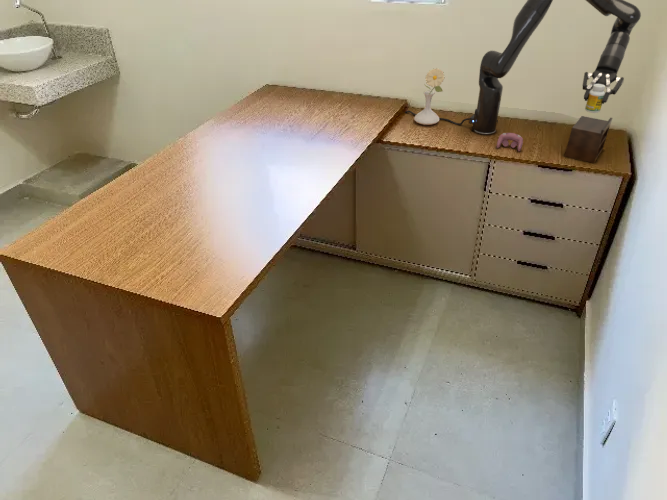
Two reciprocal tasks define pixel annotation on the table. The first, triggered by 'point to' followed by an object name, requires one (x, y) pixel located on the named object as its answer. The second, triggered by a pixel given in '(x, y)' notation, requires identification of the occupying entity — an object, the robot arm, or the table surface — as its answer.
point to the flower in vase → (430, 97)
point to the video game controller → (510, 136)
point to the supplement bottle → (595, 98)
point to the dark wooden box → (587, 139)
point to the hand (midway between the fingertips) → (594, 101)
